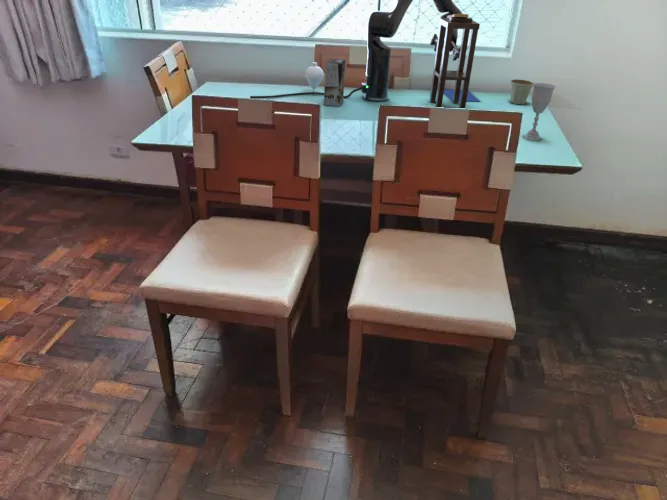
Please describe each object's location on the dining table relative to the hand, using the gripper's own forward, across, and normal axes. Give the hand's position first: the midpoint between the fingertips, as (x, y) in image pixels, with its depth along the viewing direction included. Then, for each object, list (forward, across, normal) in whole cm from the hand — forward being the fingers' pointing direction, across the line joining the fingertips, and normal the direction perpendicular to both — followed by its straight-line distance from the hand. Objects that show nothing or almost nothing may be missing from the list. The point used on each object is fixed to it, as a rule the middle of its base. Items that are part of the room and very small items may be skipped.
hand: (445, 54), depth 231 cm
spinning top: (+20, +44, -30) cm, 57 cm away
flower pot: (+4, -36, -3) cm, 37 cm away
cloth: (+3, -14, -12) cm, 19 cm away
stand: (+20, -8, -9) cm, 23 cm away
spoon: (+6, +4, +15) cm, 17 cm away
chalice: (+50, -33, +11) cm, 61 cm away
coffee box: (+33, +34, -22) cm, 53 cm away
